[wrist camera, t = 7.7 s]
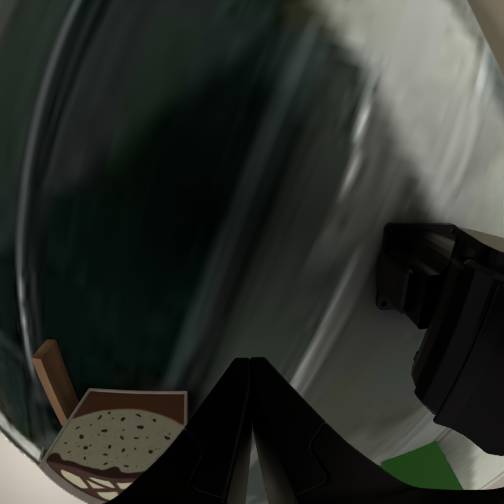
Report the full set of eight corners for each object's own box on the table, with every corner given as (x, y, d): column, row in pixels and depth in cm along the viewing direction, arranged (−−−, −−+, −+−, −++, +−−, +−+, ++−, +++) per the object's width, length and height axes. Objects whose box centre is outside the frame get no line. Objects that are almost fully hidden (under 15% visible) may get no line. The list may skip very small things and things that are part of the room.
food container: (97, 431, 26) (68, 506, 17) (75, 386, 24) (33, 465, 15) (215, 436, 27) (211, 526, 17) (204, 390, 25) (194, 490, 15)
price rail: (56, 339, 23) (40, 359, 20) (105, 456, 28) (98, 475, 25) (45, 338, 23) (29, 357, 20) (95, 454, 28) (88, 473, 25)
